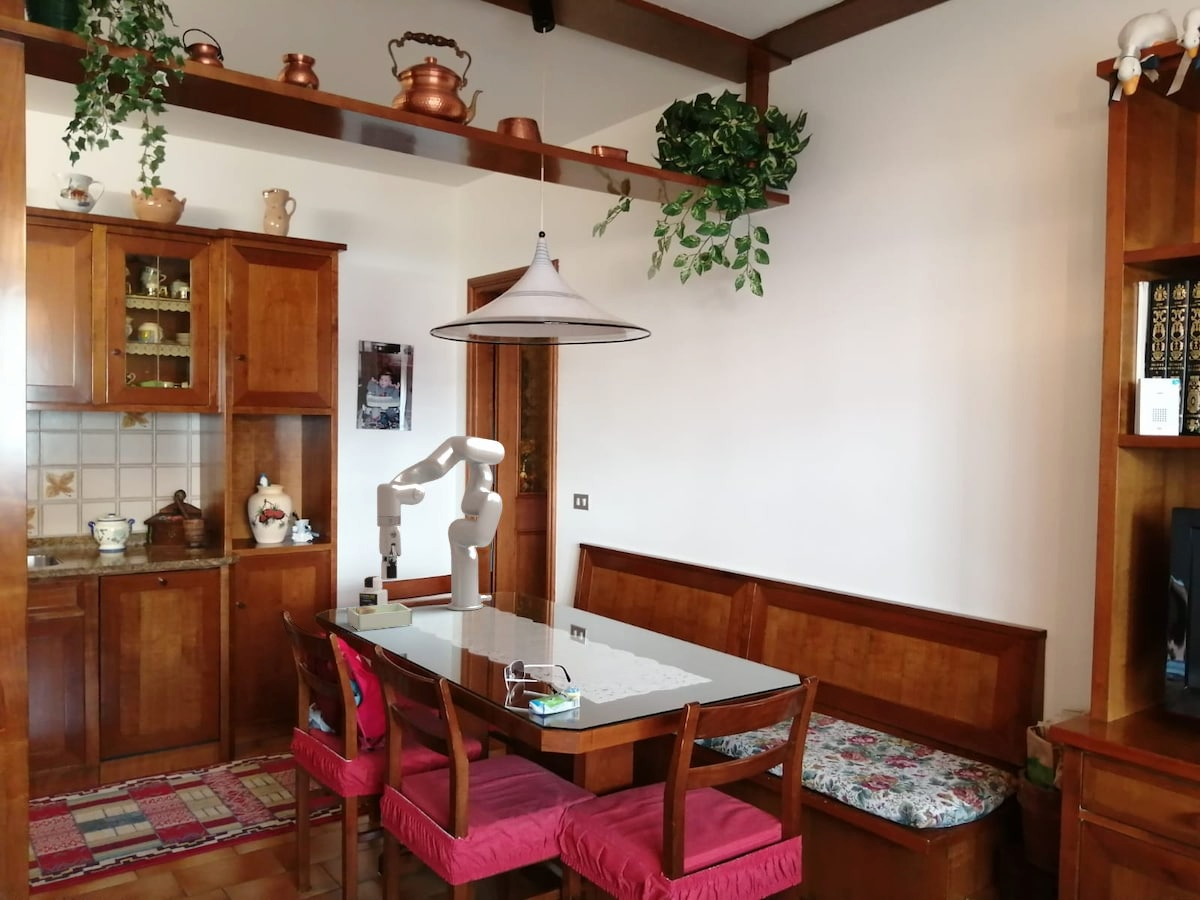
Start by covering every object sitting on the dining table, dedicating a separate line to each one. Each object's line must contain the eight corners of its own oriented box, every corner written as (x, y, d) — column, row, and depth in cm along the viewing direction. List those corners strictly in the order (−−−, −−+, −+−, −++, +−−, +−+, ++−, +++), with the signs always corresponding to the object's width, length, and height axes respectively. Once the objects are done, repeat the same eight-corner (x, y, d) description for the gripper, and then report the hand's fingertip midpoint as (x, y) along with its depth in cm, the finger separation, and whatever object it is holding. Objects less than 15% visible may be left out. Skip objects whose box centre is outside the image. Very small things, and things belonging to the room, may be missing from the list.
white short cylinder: (394, 576, 304) (394, 560, 304) (398, 578, 299) (398, 562, 299) (379, 577, 301) (379, 561, 301) (383, 580, 297) (383, 563, 297)
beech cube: (371, 621, 300) (371, 606, 300) (375, 624, 296) (375, 608, 296) (356, 623, 298) (356, 607, 298) (359, 626, 294) (359, 610, 294)
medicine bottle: (359, 612, 319) (358, 578, 319) (370, 608, 326) (369, 575, 326) (377, 613, 317) (376, 579, 317) (388, 609, 324) (387, 575, 323)
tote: (399, 617, 310) (399, 603, 310) (412, 625, 297) (412, 610, 297) (347, 623, 301) (347, 608, 301) (358, 631, 289) (357, 615, 289)
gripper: (407, 523, 294) (408, 579, 295) (393, 518, 309) (393, 572, 310) (384, 524, 291) (384, 581, 291) (370, 519, 306) (371, 574, 306)
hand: (389, 576), depth 300 cm, fingers closed on white short cylinder, 4 cm apart
